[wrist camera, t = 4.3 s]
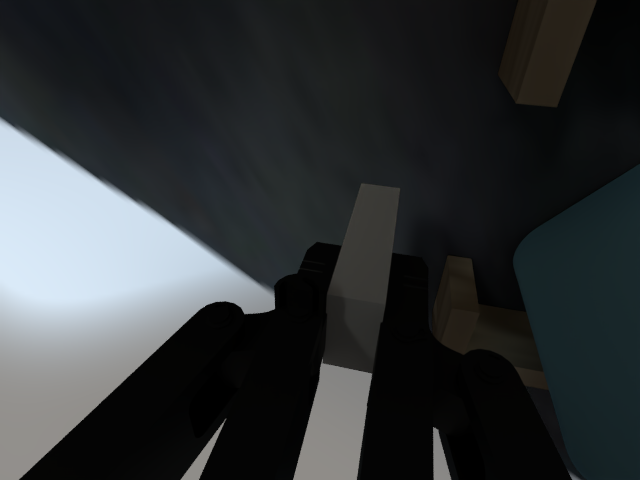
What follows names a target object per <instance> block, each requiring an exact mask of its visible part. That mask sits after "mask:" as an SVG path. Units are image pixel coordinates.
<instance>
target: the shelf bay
mask: <svg viewBox="0 0 640 480" xmlns="http://www.w3.org/2000/svg"><path fill="white" fill-rule="evenodd" d="M596 1H597V0H518V3H517V7H516V10H515V14H514V17H513V21H512V25H511V28H510V32H509V35H508V39H507V43H506V46H505V50H504V54H503V57H502V61H501V64H500V68H499V72H498V76H499V77H500V79H501V81H502V82H503V84H504V85H505V87H506V88H507V90H508V92H509V93H510V95H511V96H512V98H513V99H514V101H515V103H516V104H526V105H537V106H548V107H557V106H558V103H559V100H560V98H561V95H562V92H563V90H564V87H565V84H566V82H567V79H568V76H569V74H570V71H571V68H572V65H573V63H574V60H575V57H576V55H577V52H578V49H579V47H580V44H581V41H582V39H583V36H584V33H585V31H586V28H587V25H588V23H589V20H590V17H591V15H592V12H593V9H594V7H595V4H596ZM432 331H433V336H434V337H435V338H436V339H437V340H438V341H439V342H440V343H442V344H443V345H445V346H446V347H448V348H450V349H452V350H454V351H456V352H459V353H461V354H463V355H464V354H466V353H467V352H469V351H470V350H475V349H485V350H491V351H493V352H495V353H498V354H500V355H502V356H503V357H504V358H506V359H507V360H508V361H510V362H511V363H512V365H513V366H514V367H515V369H516V370H517V372H518V374H519V376H520V378H521V380H522V382H523V384H524V385H525V386H530V387H535V388H540V389H545V390H549V388H548V385H547V381H546V378H545V374H544V371H543V367H542V364H541V361H540V357H539V354H538V350H537V347H536V343H535V340H534V336H533V333H532V329H531V326H530V322H529V319H528V315H527V312H523V311H517V310H511V309H505V308H499V307H493V306H487V305H481V304H478V298H477V292H476V285H475V279H474V272H473V266H472V259H470V258H463V257H457V256H450V255H448V256H447V260H446V264H445V267H444V271H443V274H442V278H441V282H440V285H439V289H438V293H437V296H436V300H435V303H434V307H433V311H432Z"/></svg>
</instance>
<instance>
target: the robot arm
mask: <svg viewBox="0 0 640 480" xmlns="http://www.w3.org/2000/svg"><path fill="white" fill-rule="evenodd" d="M399 194H400V188H394V187H386V186H379V185H371V184H363V183H361V186H360V189H359V193H358V196H357V199H356V202H355V206H354V209H353V212H352V215H351V218H350V222H349V225H348V228H347V231H346V235H345V238H344V241H343V244H342V246H339V245H333V244H326V243H320V242H316V243H315V244H314V245H313V246H311V247H310V248H309V249H308V250H307V252H306V254H305V257H304V259H303V261H302V264H301V266H300V269H299V270H298V273H297V274H292V275H288V276H285V277H283V278H282V279H280V280H279V281H278V282H277V283H276V284H275V285H274V290H275V309H274V310H272V311H269V312H264V313H258V314H257V313H256V314H244V313H243V311H242V309H241V307H239V306H237V305H236V304H234V303H230V302H226V301H225V302H215V303H212V304H209V305H206V306H205V307H203V308H202V309H200V310H199V311H198V312H197V313H196V314H195V315H194V316H193V317H192V318H191V319H189V320H188V321H187V322H186V323H185V324H184V325H183V326H182V327H181V328H180V329H179V330H178V331H177V332H176V333H175V334H173V335H172V336H171V337H170V338H169V339H168V340H167V341H166V342H165V343H164V344H163V345H162V346H161V347H160V348H159V349H157V350H156V352H154V353H153V354H152V355H151V356H150V357H149V358H148V359H147V360H146V361H145V362H144V363H143V364H142V365H141V366H140V367H138V368H137V369H136V370H135V371H134V372H133V373H132V374H131V375H130V376H129V377H128V378H127V379H126V380H125V381H123V383H121V385H119V386H118V387H117V388H116V389H115V390H114V391H113V392H112V393H111V394H110V395H109V396H108V397H106V398H105V399H104V400H103V401H102V402H101V403H100V404H99V405H98V406H97V407H96V408H95V409H94V410H93V411H92V412H91V413H90V414H88V416H86V417H85V418H84V420H82V421H81V422H80V423H79V424H78V425H77V426H76V427H75V428H74V429H72V430H71V431H70V432H69V433H68V434H67V435H66V436H65V437H64V438H63V439H62V440H61V441H60V442H59V443H58V444H57V445H55V446H54V447H53V448H52V449H51V450H50V451H49V452H48V453H47V454H46V455H45V456H44V457H43V458H42V459H41V460H40V461H38V462H37V463H36V464H35V465H34V466H33V467H32V468H31V469H30V470H29V471H28V472H27V473H26V474H25V475H24V476H23V477H22V478H20V479H19V480H181V478H182V477H183V476H184V474H185V473H186V471H187V470H188V469H189V468H190V466H191V464H192V463H193V462H194V461H195V459H196V458H197V457H198V455H199V454H200V453H201V451H202V450H203V448H204V447H205V446H206V445H207V443H208V442H209V441H210V439H211V438H212V437H213V435H214V434H215V432H216V431H217V430H218V428H219V427H220V425H221V424H222V423H223V422H224V420H225V419H226V421H225V423H224V425H223V427H222V430H221V432H220V434H219V436H218V438H217V440H216V443H215V445H214V447H213V449H212V452H211V454H210V456H209V459H208V461H207V463H206V465H205V467H204V470H203V472H202V475H201V476H200V479H199V480H293V478H294V474H295V470H296V466H297V463H298V458H299V455H300V451H301V447H302V444H303V440H304V436H305V432H306V428H307V424H308V420H309V417H310V413H311V409H312V405H313V401H314V397H315V394H316V389H317V386H318V382H319V375H320V366H321V362H322V359H323V363H324V364H329V365H335V366H339V367H344V368H349V369H353V370H358V371H363V372H368V373H372V380H371V385H370V391H369V396H368V403H367V412H366V419H365V426H364V433H363V441H362V447H361V454H360V461H359V469H358V476H357V480H434V478H433V427H434V428H436V429H438V430H439V436H440V439H441V443H442V447H443V450H444V454H445V457H446V461H447V465H448V469H449V472H450V476H451V480H572V479H571V477H570V475H569V473H568V471H567V469H566V467H565V465H564V463H563V461H562V459H561V457H560V455H559V453H558V451H557V449H556V447H555V445H554V443H553V441H552V439H551V437H550V435H549V433H548V431H547V429H546V427H545V425H544V423H543V421H542V419H541V417H540V415H539V413H538V411H537V409H536V407H535V405H534V403H533V401H532V399H531V397H530V395H529V393H528V391H527V389H526V388H525V386H524V384H523V382H522V380H521V378H520V376H519V374H518V372H517V370H516V369H515V367H514V366H513V365H512V363H511V362H510V361H508V360H507V359H506V358H504V357H503V356H502V355H500V354H498V353H495V352H493V351H491V350H485V349H475V350H470V351H469V352H467V353H466V354H464V355H463V354H461V353H459V352H456V351H454V350H452V349H450V348H448V347H446V346H445V345H443V344H442V343H440V342H439V341H438V340H437V339H436V338H435V337H434V336H433V334H432V333H431V331H430V329H429V324H428V267H427V265H426V264H425V262H424V260H423V259H422V257H415V256H409V255H403V254H396V253H392V249H393V241H394V233H395V226H396V218H397V210H398V202H399Z"/></svg>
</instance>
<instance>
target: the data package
mask: <svg viewBox="0 0 640 480" xmlns="http://www.w3.org/2000/svg"><path fill="white" fill-rule="evenodd" d="M513 266H514V270H515V274H516V277H517V281H518V284H519V288H520V291H521V295H522V298H523V301H524V305H525V308H526V312H527V315H528V319H529V322H530V326H531V329H532V333H533V336H534V340H535V343H536V347H537V350H538V354H539V357H540V361H541V364H542V367H543V371H544V374H545V378H546V381H547V385H548V388H549V392H550V395H551V399H552V402H553V406H554V409H555V413H556V416H557V420H558V423H559V427H560V430H561V433H562V437H563V440H564V444H565V447H566V450H567V453H568V455H569V457H570V459H571V461H572V463H573V464H574V466H575V467H576V469H577V470H578V471H579V473H580V474H581V475H582V476H583V477H584V478H585V479H586V480H640V164H639V165H637V166H635V167H634V168H632V169H631V170H629V171H627V172H626V173H624V174H622V175H621V176H619V177H618V178H616V179H614V180H613V181H611V182H610V183H608V184H606V185H605V186H603V187H602V188H600V189H598V190H597V191H595V192H594V193H592V194H590V195H589V196H587V197H586V198H584V199H582V200H581V201H579V202H577V203H576V204H574V205H573V206H571V207H569V208H568V209H566V210H565V211H563V212H561V213H560V214H558V215H557V216H555V217H553V218H552V219H550V220H549V221H547V222H545V223H544V224H542V225H540V226H539V227H537V228H536V229H534V230H533V231H532V232H530V233H529V234H528V235H527V236H526V237H525V238H524V239H523V240H522V241H521V243H520V244H519V246H518V247H517V249H516V251H515V254H514V257H513Z"/></svg>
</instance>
